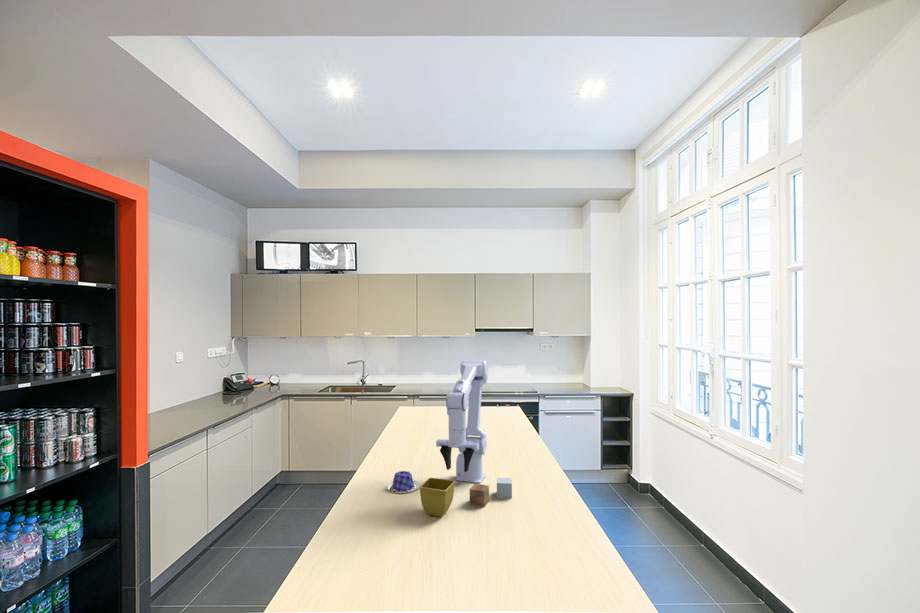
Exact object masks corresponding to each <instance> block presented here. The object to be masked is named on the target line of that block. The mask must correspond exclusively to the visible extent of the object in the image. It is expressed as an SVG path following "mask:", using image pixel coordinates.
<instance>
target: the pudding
mask: <svg viewBox="0 0 920 613" xmlns="http://www.w3.org/2000/svg"><path fill="white" fill-rule="evenodd" d="M392 483H393V484H392ZM391 484H392V487H391V489H395V490H396V492H395V493H397V494H398V493H400V494H401V493H403V494H405V493H406V491H407V490H408V492H407V493H410V492H414V491H416V490H418V489H420V486H421V484H420V483H419V482H418V481H416V480H414V479H413V475H412V473H411V472H410V471H407V470H402V471H401V470H400V471H398V472H396V473H394V476H393V480H392V481H391V482H389V483H388V484H387V485H386V486H385V489H386V490H387V491H389V492H392V493H394V492H393V491H395V490H393V491H390V490H389V489H388V486H389V485H391ZM414 484H415V485H416V488H415V487H414ZM413 487H414V488H413ZM411 489H412V490H411ZM410 490H411V491H410ZM397 491H400V492H397ZM402 491H405V492H402Z"/></svg>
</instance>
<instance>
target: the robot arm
mask: <svg viewBox="0 0 920 613" xmlns="http://www.w3.org/2000/svg"><path fill="white" fill-rule="evenodd" d="M459 369H460V375H461V378H460V379H458V380H457V381H456V383H455V385H454V387H453V389H452V391H450V392H449V393H447V394H446V396H445V398H446V399H445V407H446V414H447V415H448V439H437V440H435V446H436V447H437V448H438V447H439V448H440V449H439V452H440V454H441V455H442V457H443V460H444V463H445V466H446V470H447V471H449V470H451V468H452V450H453V449H458V452H459V453H458V455H457V457H456V462H455V464H456V466H455V469H456V471H455V475H456V476H455V481H459V482H460V481H461V482H466V483H467V482H468V483H474V484H480V483H481V482H482V481H483V480H484V478H486V476H487V475H486V474H483V455H485V454H486V452H487V443H488V442H487V434H486V433H485V431H483V430H482V429H481V428H480V424H481V422H480V421H481V407H482V391H483V386H484V385H485V384H487V382H488V377H489V376H488V375H489V374H488V373H489V366H488V362H487V361H486V360H485V359H484V360H465V359H463V360H462V361H461V362H460V366H459ZM467 408H468V409H467ZM466 411H467V412H466ZM466 413H467V416H466ZM466 417H467V419H466ZM466 420H467V421H466ZM452 448H453V449H452Z"/></svg>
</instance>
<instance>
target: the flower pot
mask: <svg viewBox="0 0 920 613" xmlns="http://www.w3.org/2000/svg"><path fill="white" fill-rule="evenodd" d="M455 486H456V480H453V479H444V478H438V477H429V478H428V479H427V480H425V481H424V483H422V484H420V486H419V493H420V502H421V506H422V509H423V510H424V512H425V513H426V515H429V516H435V517H441V518H442V517H443V516H445V515H446V513H447V512H448V510H450V506H451V504H452V503H453V499H454V496H455V494H454V493H455Z"/></svg>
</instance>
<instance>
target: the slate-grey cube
mask: <svg viewBox="0 0 920 613" xmlns="http://www.w3.org/2000/svg"><path fill="white" fill-rule="evenodd" d="M512 482H513V481H512V477H496V498H497V499H513V490H512V489H513V487H512V486H513V483H512Z"/></svg>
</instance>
